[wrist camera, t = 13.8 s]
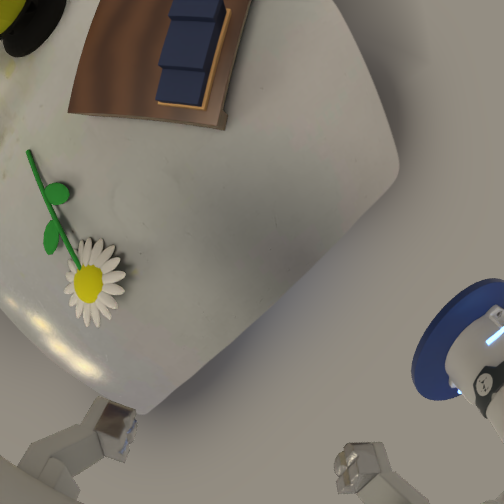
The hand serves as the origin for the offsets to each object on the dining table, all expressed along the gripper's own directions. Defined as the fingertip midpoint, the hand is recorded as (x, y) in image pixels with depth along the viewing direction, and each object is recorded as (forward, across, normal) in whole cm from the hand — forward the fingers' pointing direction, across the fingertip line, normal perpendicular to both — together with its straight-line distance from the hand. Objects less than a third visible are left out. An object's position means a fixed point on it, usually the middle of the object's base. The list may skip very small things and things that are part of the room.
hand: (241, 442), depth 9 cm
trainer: (+24, +11, -19) cm, 32 cm away
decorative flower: (+31, +28, +5) cm, 42 cm away
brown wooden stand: (+31, +16, -23) cm, 42 cm away
